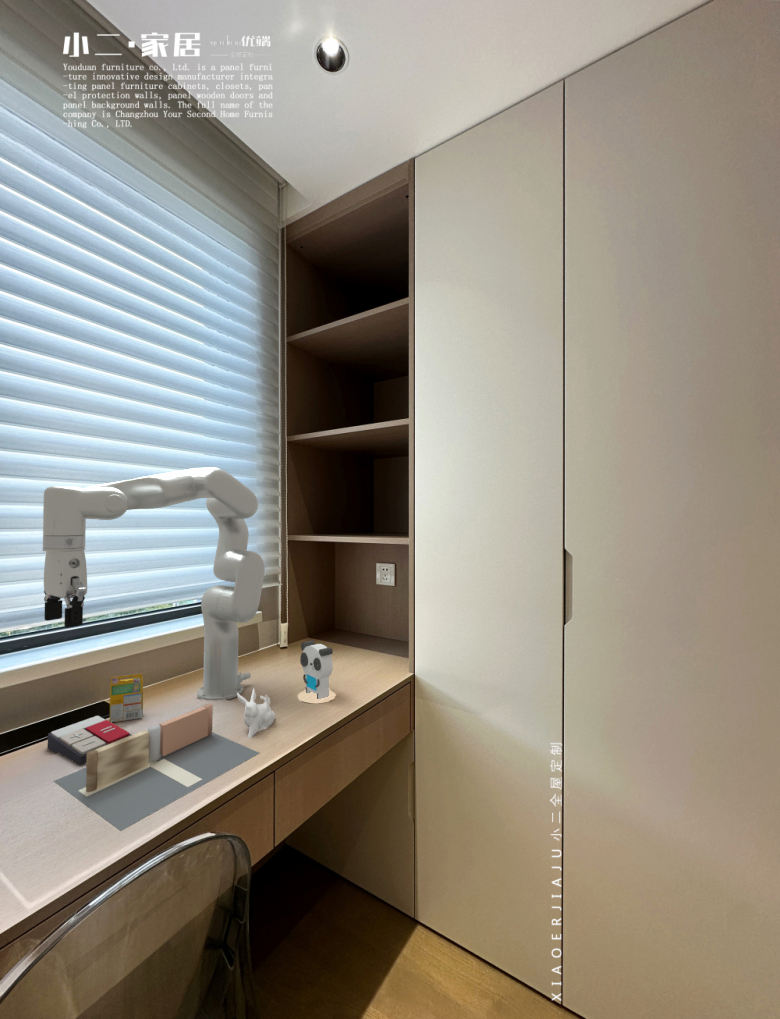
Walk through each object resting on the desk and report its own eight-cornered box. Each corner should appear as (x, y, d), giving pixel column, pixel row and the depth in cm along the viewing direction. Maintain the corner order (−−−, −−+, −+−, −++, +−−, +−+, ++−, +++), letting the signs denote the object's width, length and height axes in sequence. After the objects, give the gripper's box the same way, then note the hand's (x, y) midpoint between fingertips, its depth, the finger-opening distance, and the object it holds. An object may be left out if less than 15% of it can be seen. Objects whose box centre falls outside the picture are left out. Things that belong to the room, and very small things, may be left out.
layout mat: (191, 725, 116) (191, 722, 116) (260, 755, 102) (260, 752, 102) (53, 784, 90) (53, 780, 90) (120, 834, 77) (120, 830, 77)
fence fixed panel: (143, 763, 97) (144, 729, 97) (148, 765, 96) (149, 732, 96) (84, 790, 88) (84, 753, 88) (88, 793, 87) (89, 756, 87)
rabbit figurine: (247, 743, 107) (248, 702, 108) (224, 736, 111) (224, 695, 111) (281, 723, 118) (282, 685, 118) (259, 717, 122) (260, 680, 122)
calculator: (81, 753, 96) (47, 730, 104) (80, 773, 96) (46, 749, 104) (133, 731, 105) (98, 712, 113) (132, 750, 105) (98, 729, 113)
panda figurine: (288, 694, 136) (289, 643, 136) (320, 685, 144) (321, 636, 144) (310, 707, 127) (311, 653, 128) (344, 697, 135) (345, 645, 135)
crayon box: (142, 713, 122) (143, 669, 122) (142, 718, 119) (143, 673, 119) (110, 718, 119) (111, 673, 119) (109, 723, 116) (110, 677, 116)
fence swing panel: (208, 730, 111) (208, 703, 111) (214, 733, 110) (215, 705, 110) (144, 759, 98) (145, 728, 98) (151, 762, 97) (151, 731, 97)
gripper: (102, 544, 98) (101, 625, 98) (66, 540, 108) (65, 614, 108) (62, 547, 92) (61, 633, 92) (27, 542, 101) (26, 620, 101)
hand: (63, 622), depth 100 cm, fingers open, 9 cm apart
